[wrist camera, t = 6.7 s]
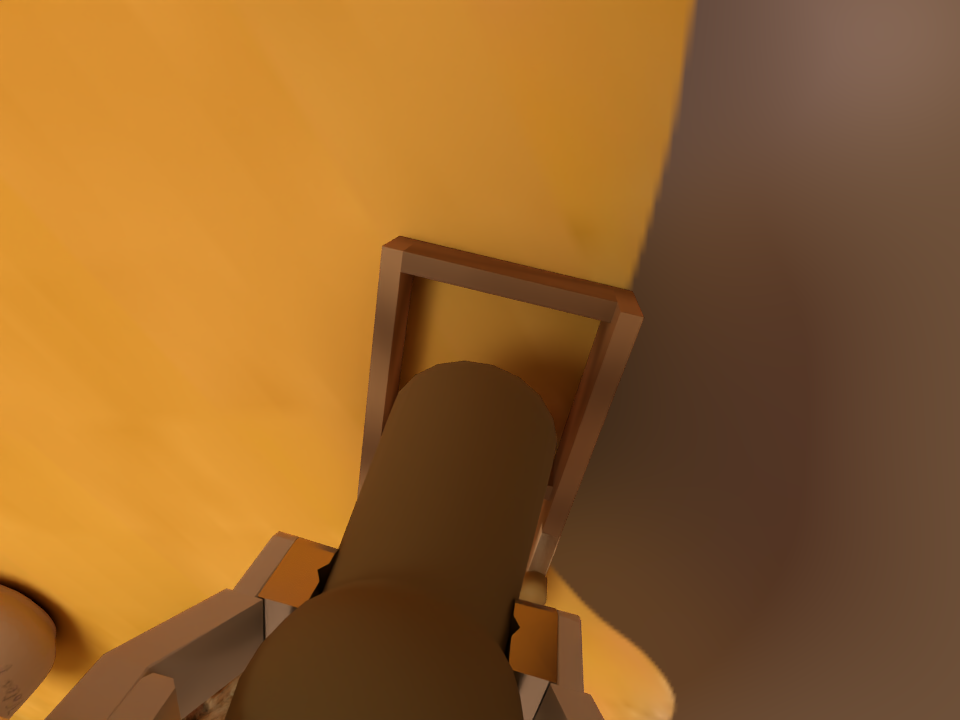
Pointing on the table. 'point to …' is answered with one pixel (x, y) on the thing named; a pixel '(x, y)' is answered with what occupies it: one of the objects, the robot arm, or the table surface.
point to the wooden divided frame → (526, 286)
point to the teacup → (23, 649)
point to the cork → (421, 565)
